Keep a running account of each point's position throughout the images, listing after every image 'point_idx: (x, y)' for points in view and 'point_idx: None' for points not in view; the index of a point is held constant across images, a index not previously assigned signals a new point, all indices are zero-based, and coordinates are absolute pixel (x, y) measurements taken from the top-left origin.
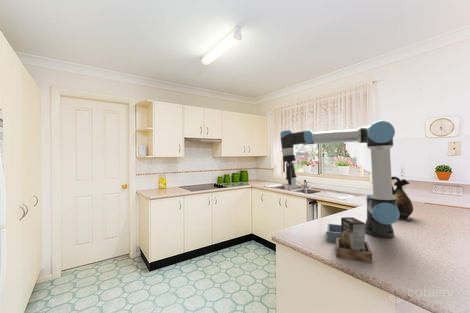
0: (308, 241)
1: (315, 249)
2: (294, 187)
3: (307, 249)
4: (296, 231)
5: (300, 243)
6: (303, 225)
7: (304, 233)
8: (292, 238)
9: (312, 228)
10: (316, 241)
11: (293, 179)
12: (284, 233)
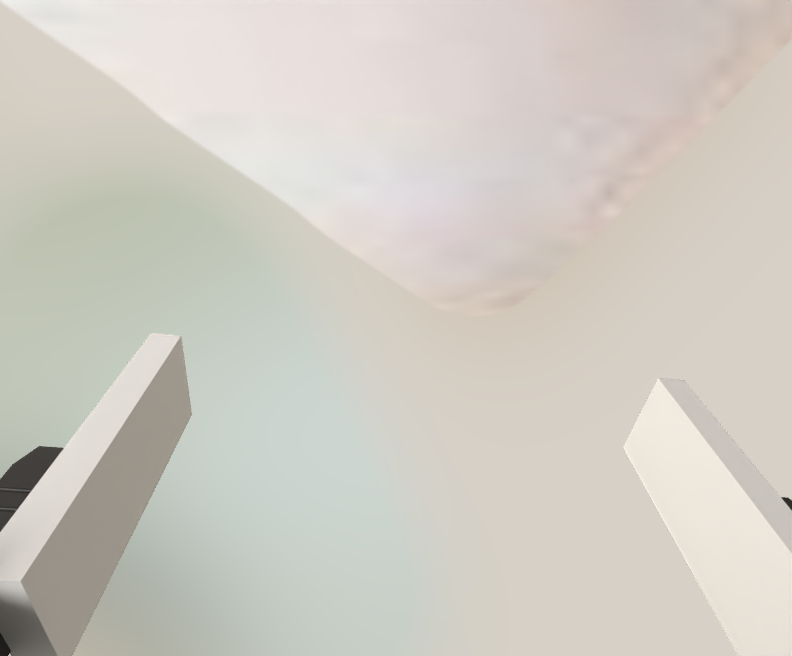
0: (587, 78)
1: (728, 28)
2: (184, 381)
3: (727, 90)
4: (388, 178)
5: (628, 141)
6: (205, 117)
7: (419, 109)
8: (542, 202)
9: (263, 26)
10: (581, 8)
11: (79, 565)
12: (454, 264)
